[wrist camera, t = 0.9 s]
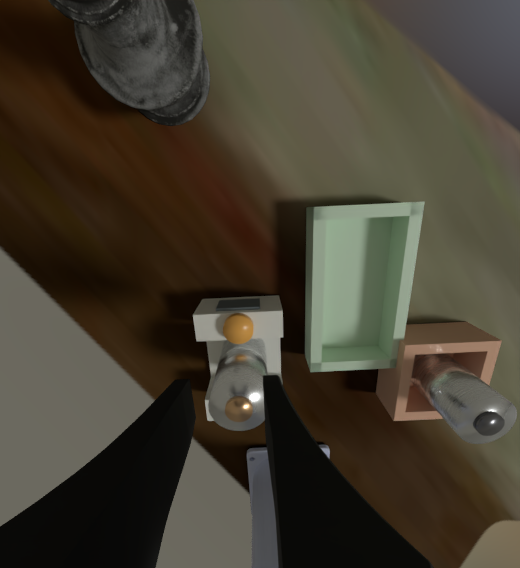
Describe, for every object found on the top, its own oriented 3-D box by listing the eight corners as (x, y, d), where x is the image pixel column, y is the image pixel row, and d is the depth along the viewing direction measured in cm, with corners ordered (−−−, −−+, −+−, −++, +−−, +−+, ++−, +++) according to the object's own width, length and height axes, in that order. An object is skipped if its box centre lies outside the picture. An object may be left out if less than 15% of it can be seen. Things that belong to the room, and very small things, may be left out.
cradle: (280, 389, 22) (285, 423, 18) (214, 392, 22) (206, 427, 18) (278, 292, 19) (283, 311, 15) (202, 296, 19) (189, 316, 15)
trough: (384, 350, 20) (399, 367, 18) (304, 354, 20) (310, 372, 18) (402, 202, 17) (424, 201, 15) (306, 207, 17) (313, 206, 15)
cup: (450, 389, 22) (479, 416, 19) (375, 393, 22) (393, 420, 19) (466, 321, 20) (501, 340, 17) (383, 325, 20) (405, 345, 17)
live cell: (266, 367, 20) (271, 433, 14) (224, 369, 20) (210, 436, 14) (264, 329, 19) (268, 383, 13) (220, 331, 19) (203, 386, 13)
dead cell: (439, 378, 21) (512, 446, 15) (398, 380, 21) (455, 449, 15) (447, 342, 20) (529, 400, 14) (403, 344, 20) (467, 403, 14)
